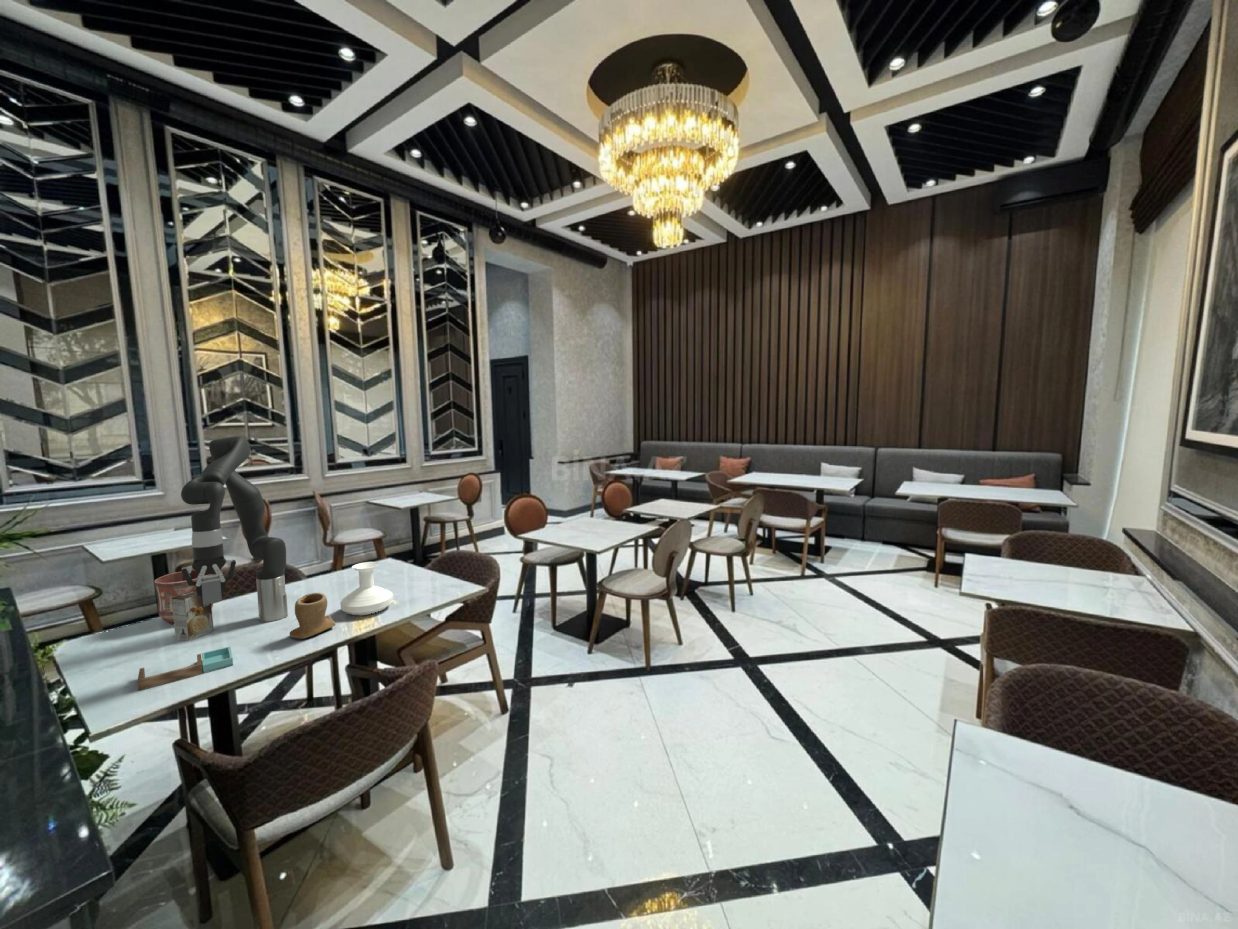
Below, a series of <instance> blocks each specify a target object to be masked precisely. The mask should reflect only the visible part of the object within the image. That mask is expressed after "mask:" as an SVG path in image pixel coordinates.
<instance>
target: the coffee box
mask: <svg viewBox="0 0 1238 929" xmlns="http://www.w3.org/2000/svg"><path fill="white" fill-rule="evenodd" d="M172 607H173V617H174V624H173V625H174V626H173V627H174V635H175V636H174V637H175V640H178V641H179V640H180V641H187V642H189V641H192V640H194V639H196V638H199V637H202V636H204V635H206V634H208V633H210V632H213V631H214V630H215V629H214V628H215V627H214V619H213V618H214V616H213V607H211V603H209V604H203V597H200V596H197V590H194V591H191V592H187V593H184V594H181V595H178V596H175V597H172Z"/></svg>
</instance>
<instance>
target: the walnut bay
mask: <svg viewBox="0 0 1238 929" xmlns="http://www.w3.org/2000/svg"><path fill="white" fill-rule="evenodd" d="M196 661H197V662H196V664H194V665H190V666H185V667H181V668H178V669H174V670H170V671H165V672H162V673H158V674H154V675H150V676H146V672H145V667H141V668H139V670H138V674H137V675H138V677H137V691H143V690H146V689H145V688H147V689H150V687H151V688H153V687H157V686H161V685H165V684H170V683H173V682H177V681H180V680H184V679H187V678H188V679H189V678H191V677H195V676H198V675H203V663H202V653H199V654H196ZM142 689H143V690H142Z"/></svg>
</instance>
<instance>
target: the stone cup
mask: <svg viewBox="0 0 1238 929" xmlns="http://www.w3.org/2000/svg"><path fill="white" fill-rule="evenodd" d="M327 608H328V599H327V596H326V595H325V594H324V593H321V592H311V593H307V594H305V595H303V596H302V597H300V598H298V599H297V600H296V601H295V604H294V615H295V617H296V620H297V623H298V625H299V626H298V627H296V628H294V629H292V630H291V631H289V636H291V637H292V638H294V639H306V638H309V637H313V636H316V635H317V634H320V633H322V632H324V631H326V630H329V629H331V628H333V627H335V626H336V625H337V624H336V622H335V621H334V619H333V618H332V617H331V615H327V616H326V612H327Z"/></svg>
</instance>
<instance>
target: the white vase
mask: <svg viewBox="0 0 1238 929" xmlns="http://www.w3.org/2000/svg"><path fill="white" fill-rule="evenodd" d="M379 566H380V563H379V562H376V561H365V562H359V563H357V564H354V565H352V566H351V568H352V569H353V570H355V571H357V572H358V580H359V583H358V584H359V587H357V588H356V589H354V590H353V591H351V592H350V593H348V594H347V595H345V596H344V597H343V598H342V599H341V601H340V604H339V605H340V609H341V610H342V611H343V613H347V614H349V615H353V616H366V615H371V613H372V614H375V612H376V613H379V612H381V611H383V610H385V609H387V607H388V606H389V607H390V605H391V604H392V603H394V602H393V601H394V593H393V592H392V591H391V590H389V589H387V588H383V587H381V586H377V585H375V582H374V570H375V569H376V568H377V567H379ZM378 611H379V612H378Z"/></svg>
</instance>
